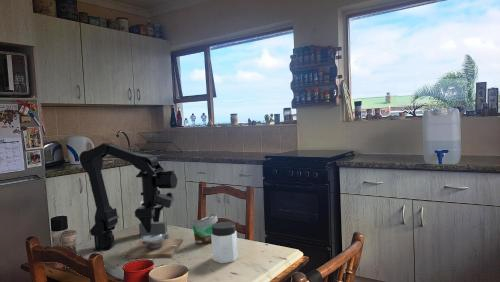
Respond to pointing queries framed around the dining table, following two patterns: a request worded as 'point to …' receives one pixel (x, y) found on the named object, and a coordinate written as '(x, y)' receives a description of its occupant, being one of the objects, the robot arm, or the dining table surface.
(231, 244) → the jar
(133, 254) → the brown flat slab
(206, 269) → the dining table surface
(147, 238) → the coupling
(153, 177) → the robot arm
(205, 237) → the food container
